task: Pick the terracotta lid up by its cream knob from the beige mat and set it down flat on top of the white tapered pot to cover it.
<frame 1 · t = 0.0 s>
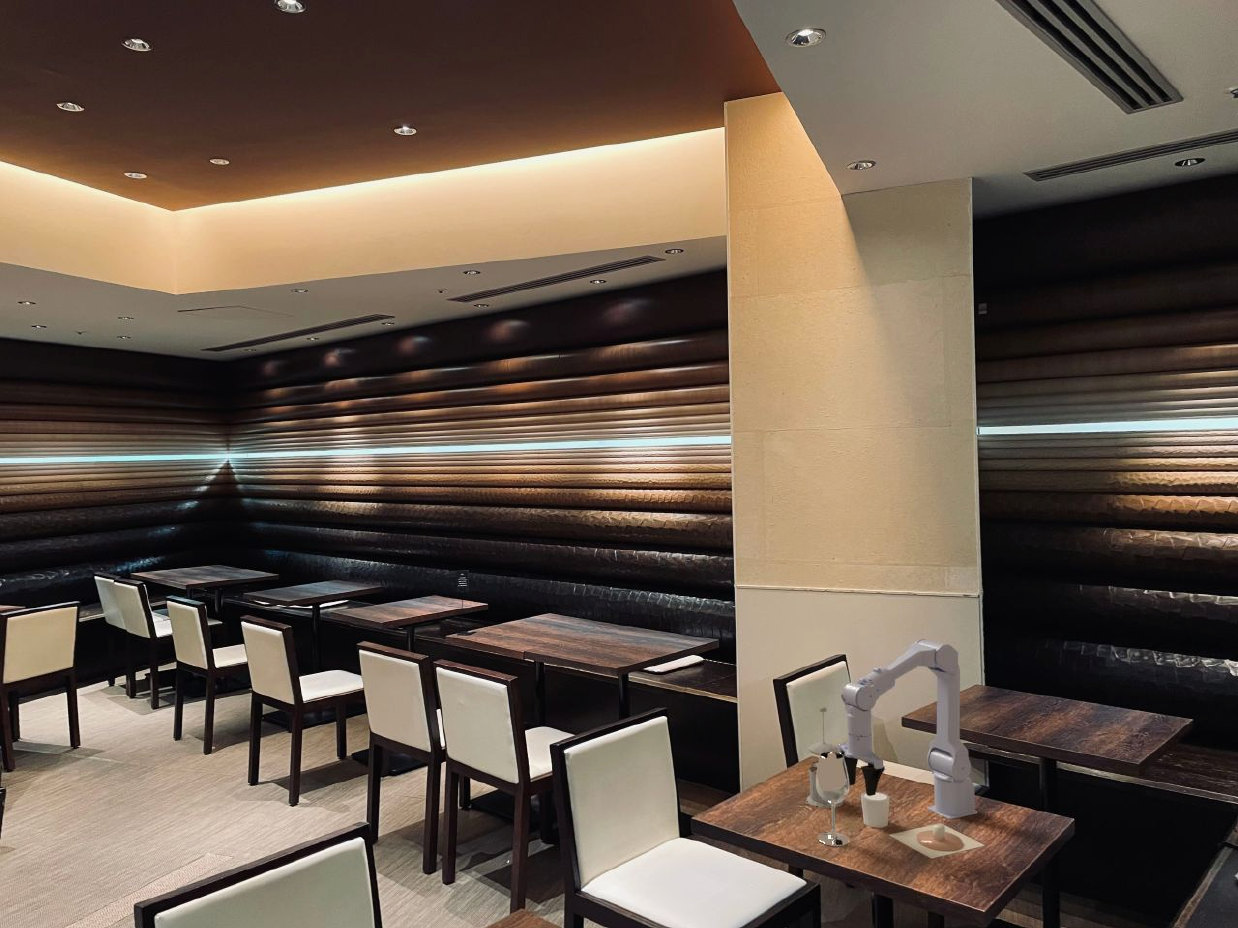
hand: (860, 789, 204), 10 cm above the table, tool pointing down, fingers open, 7 cm apart
white tapered pot: (875, 825, 208), on the table
wineglass: (833, 840, 200), on the table
lid: (939, 841, 197), resting on mat
mat: (936, 841, 198), on the table
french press: (827, 800, 224), on the table
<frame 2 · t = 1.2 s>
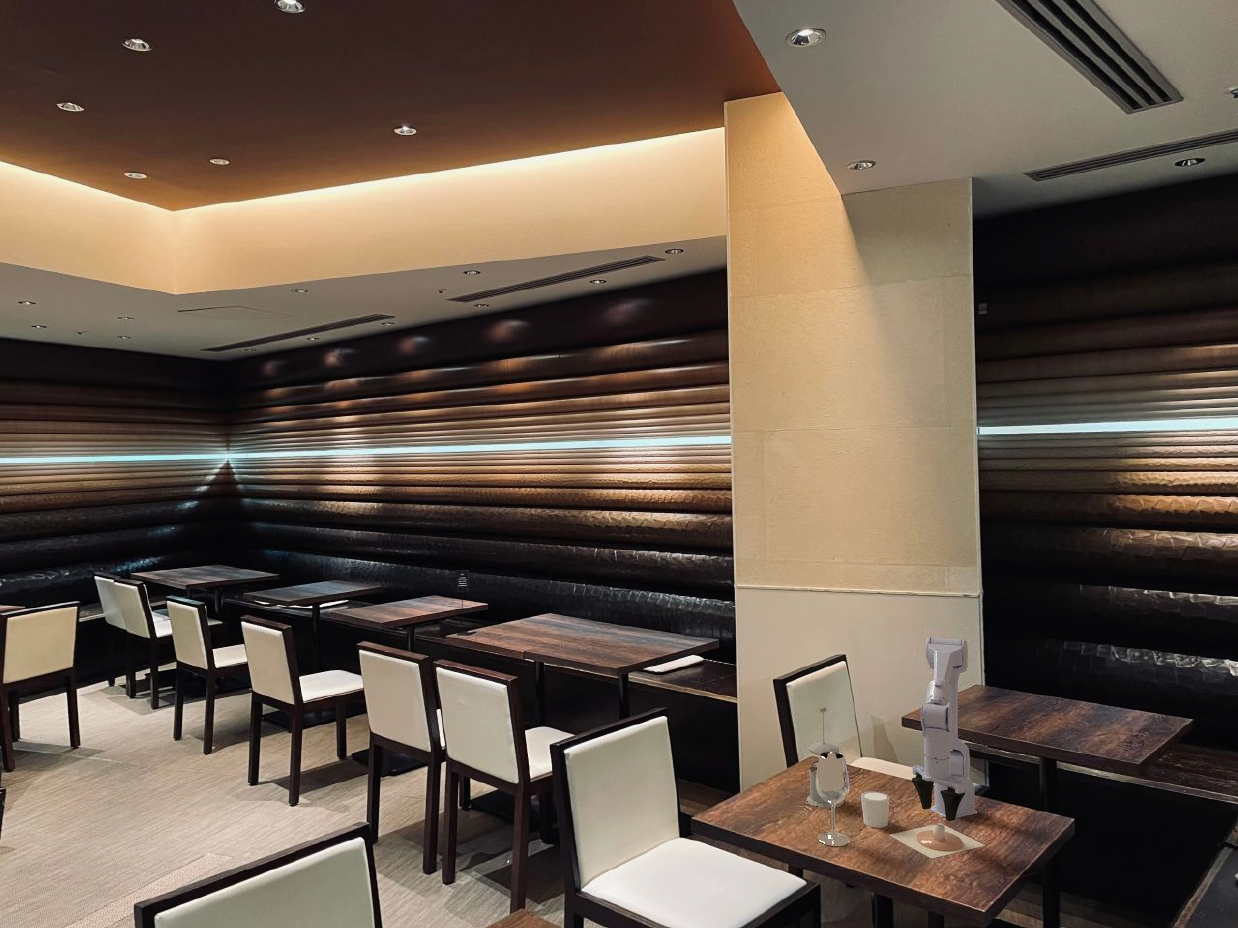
hand: (938, 814, 197), 7 cm above the table, tool pointing down, fingers open, 7 cm apart
nothing on the table moved.
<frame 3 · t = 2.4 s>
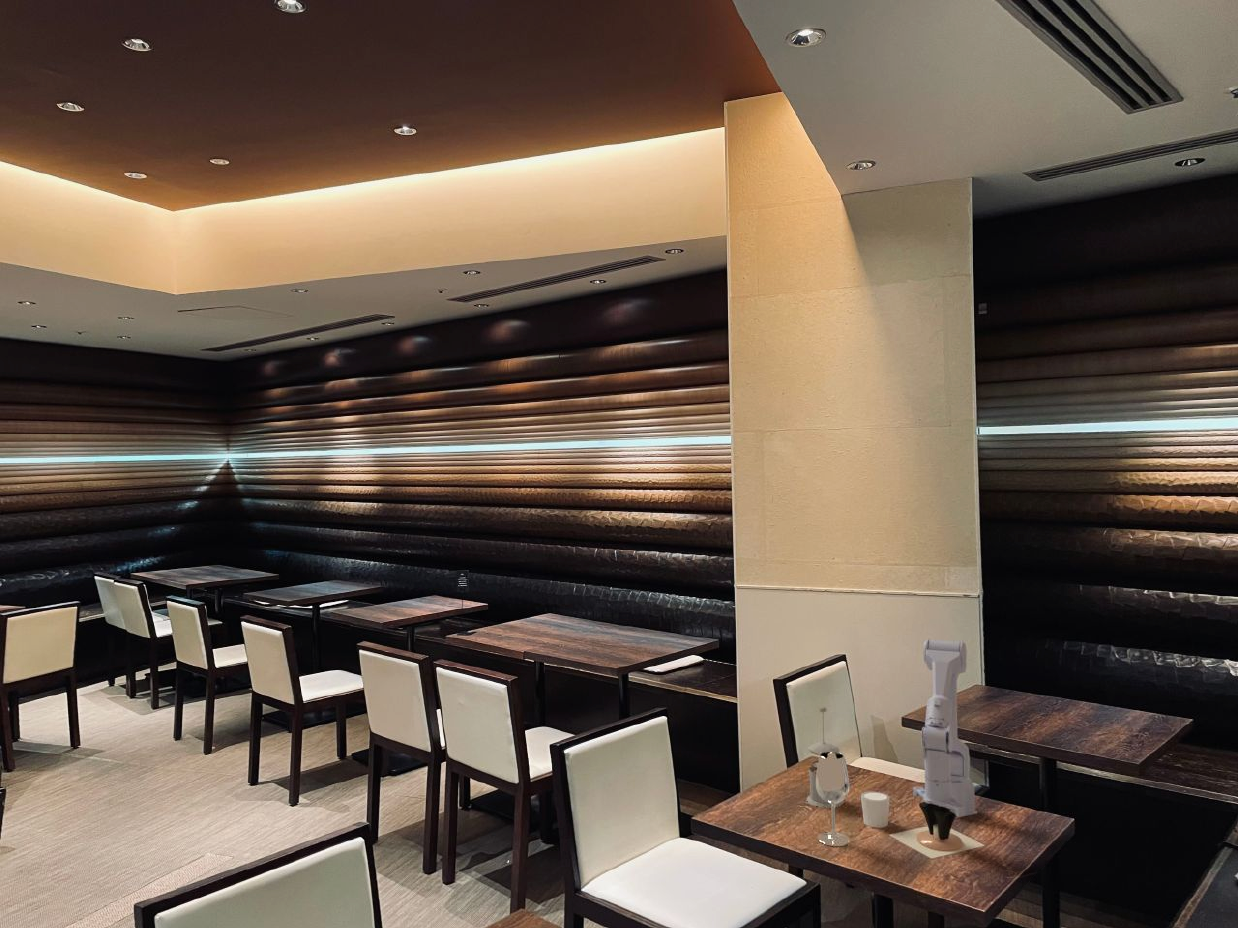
hand: (939, 836, 197), 2 cm above the table, tool pointing down, fingers closed on lid, 2 cm apart
lid: (939, 841, 197), resting on mat, touching gripper
everything else where it was.
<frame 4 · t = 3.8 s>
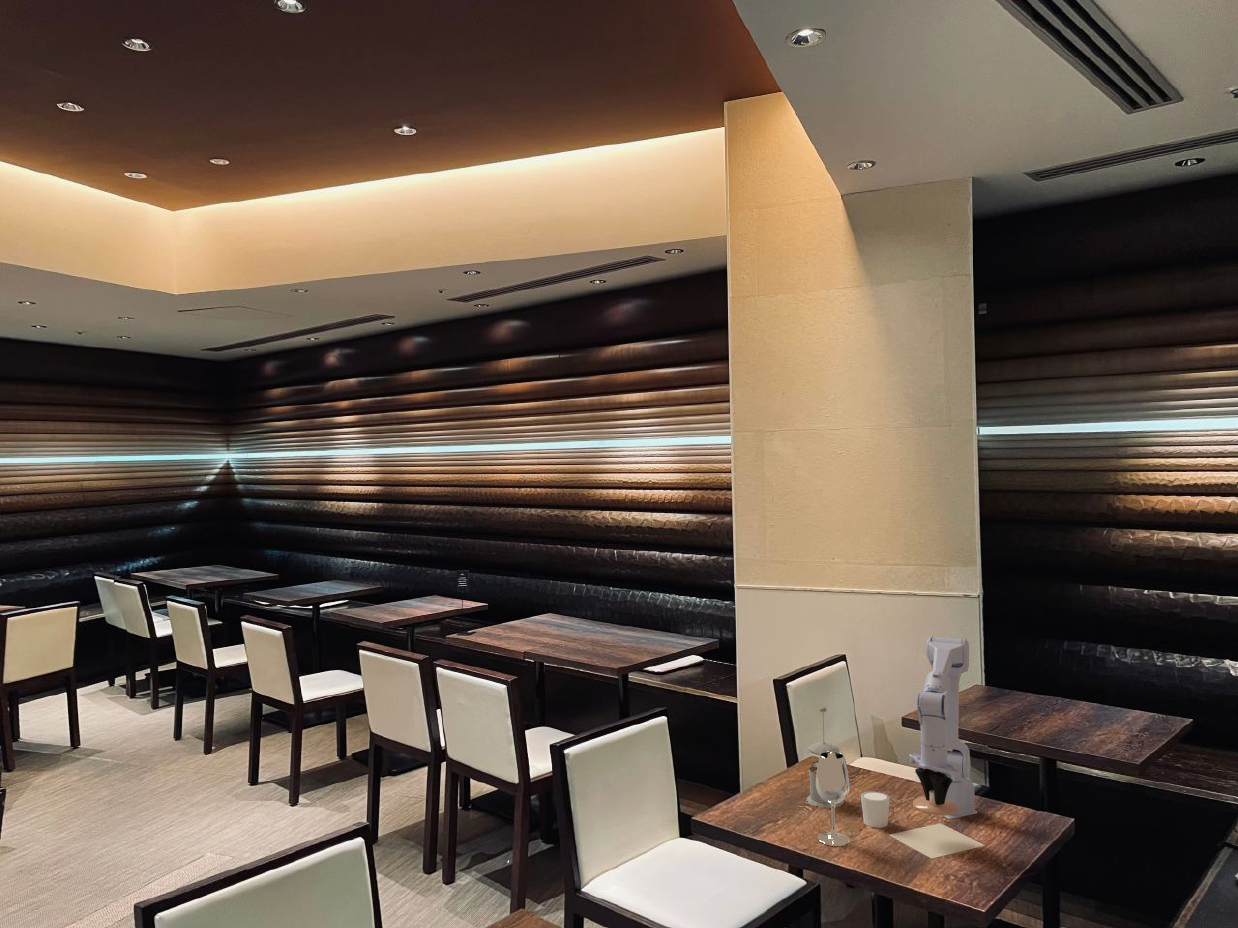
hand: (935, 801, 198), 9 cm above the table, tool pointing down, fingers closed on lid, 2 cm apart
lid: (935, 806, 198), point 8 cm above the table, touching gripper
everything else where it was.
when the fingers open (9 cm above the table, at t = 5.4 s): lid stays where it is, resting on white tapered pot.
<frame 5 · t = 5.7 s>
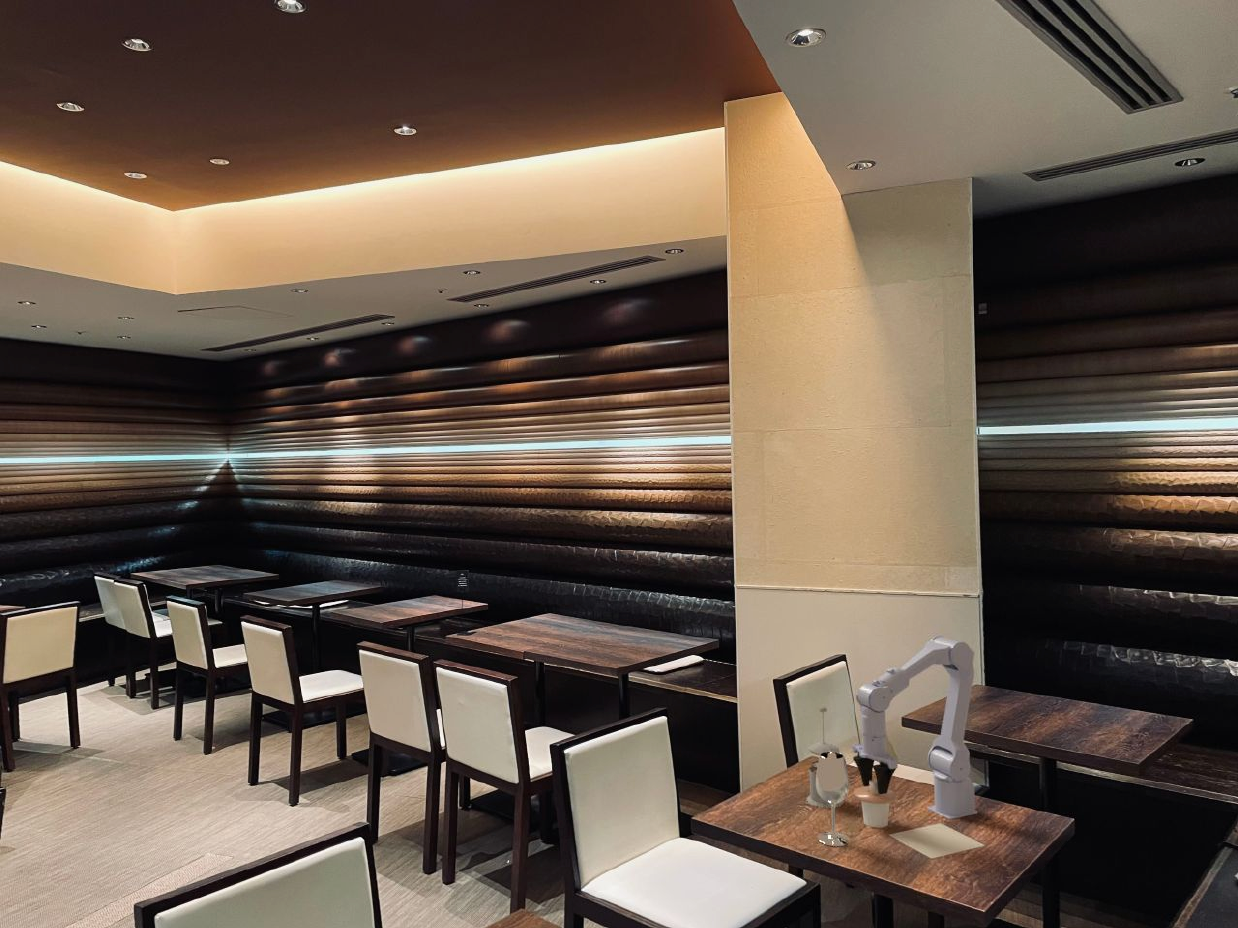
hand: (875, 789, 209), 9 cm above the table, tool pointing down, fingers open, 5 cm apart
white tapered pot: (875, 825, 208), on the table, touching lid
lid: (874, 795, 208), point 7 cm above the table, touching white tapered pot
everything else where it was.
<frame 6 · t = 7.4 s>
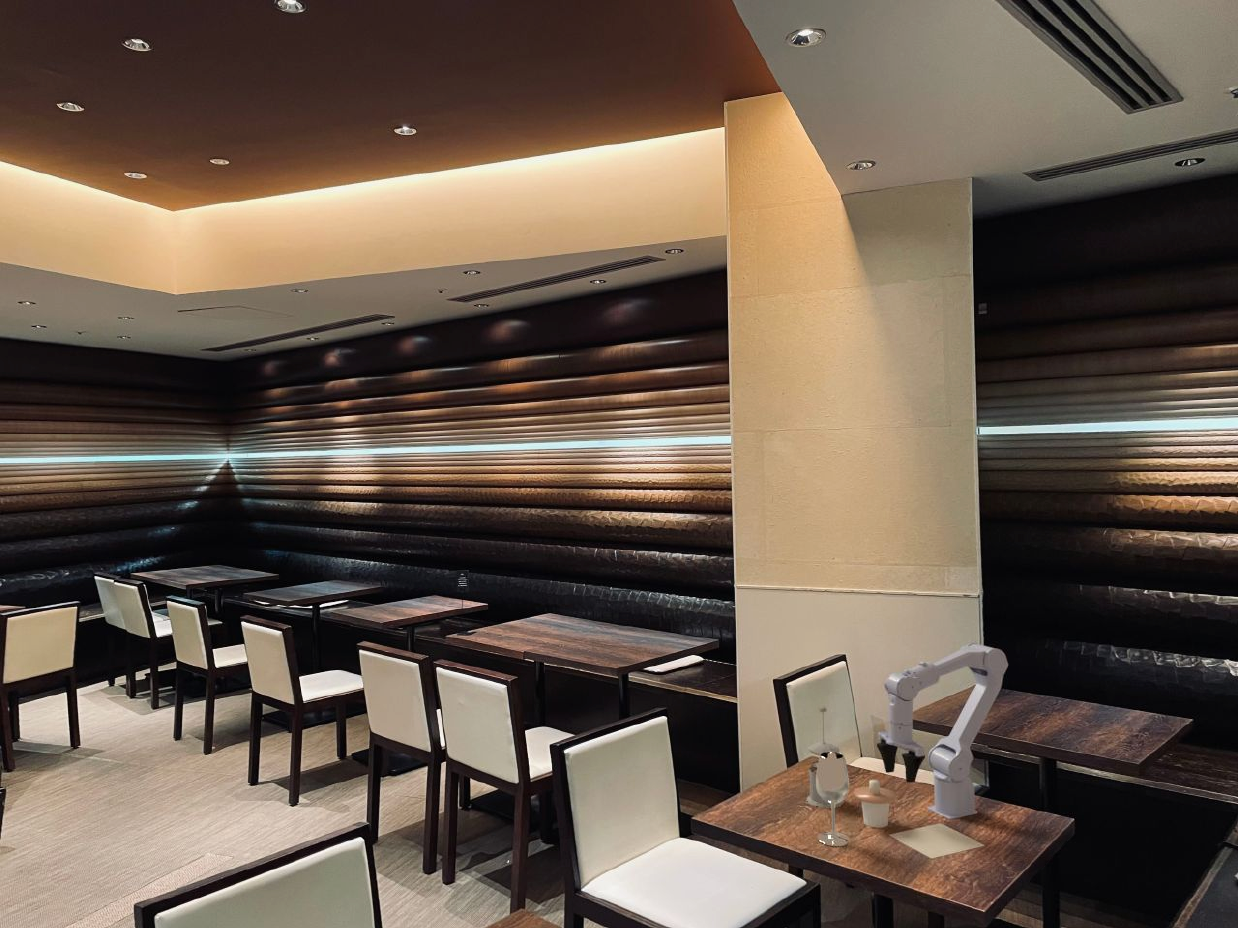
hand: (900, 776, 212), 10 cm above the table, tool pointing down, fingers open, 7 cm apart
nothing on the table moved.
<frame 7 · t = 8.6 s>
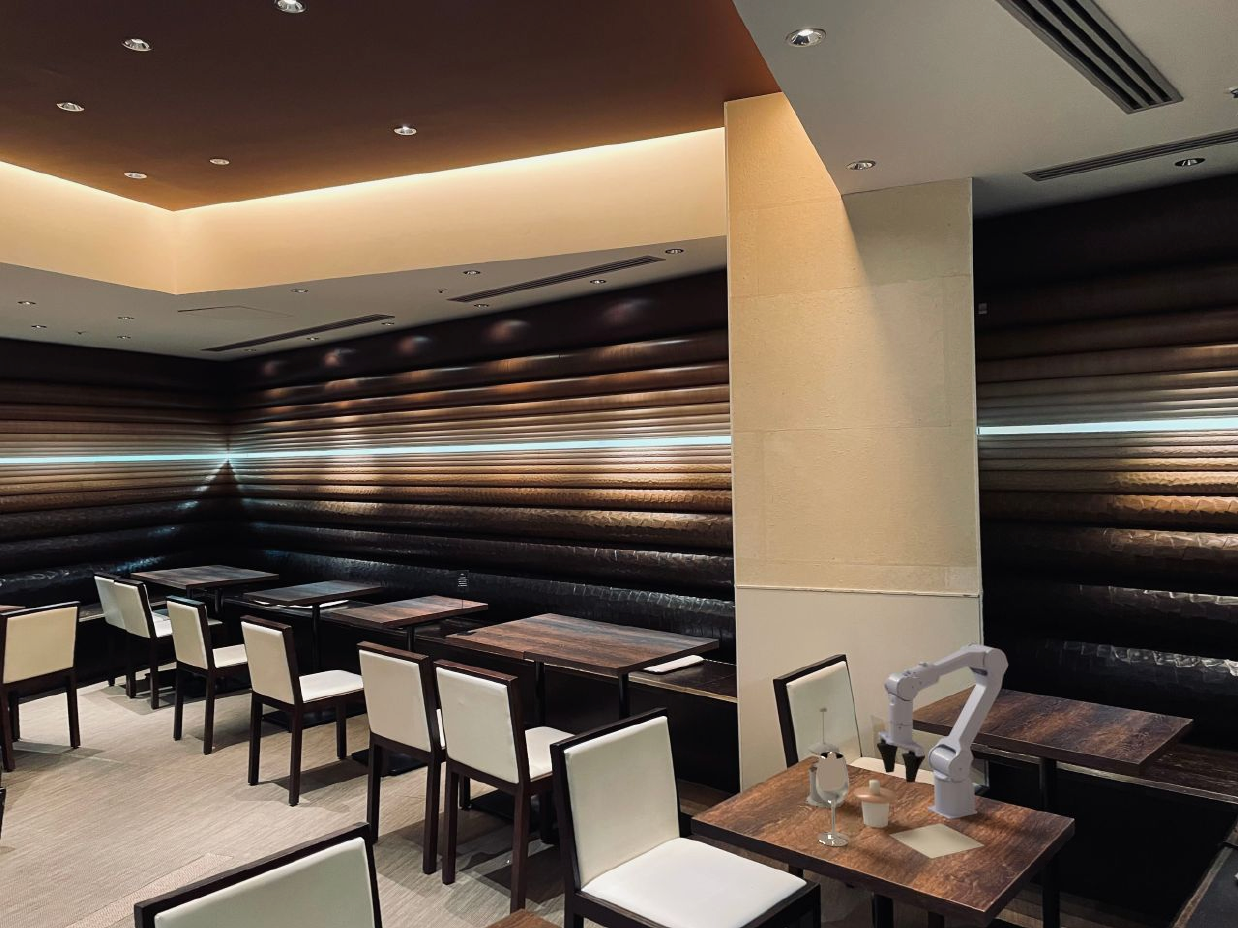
hand: (900, 776, 212), 10 cm above the table, tool pointing down, fingers open, 7 cm apart
nothing on the table moved.
at the end: lid 0.1 cm from the white tapered pot (horizontally); lid point 6.9 cm above the table; lid tilted 0° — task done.
